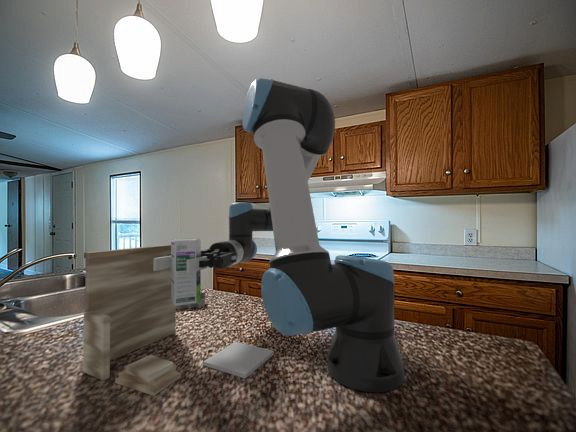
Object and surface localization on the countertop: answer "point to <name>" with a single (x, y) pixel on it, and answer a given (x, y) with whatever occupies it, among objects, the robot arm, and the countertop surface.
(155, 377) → the offcut stack
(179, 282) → the syrup box
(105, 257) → the wood grain panel
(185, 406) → the countertop surface
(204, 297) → the egg carton
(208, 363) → the mat
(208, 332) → the countertop surface
